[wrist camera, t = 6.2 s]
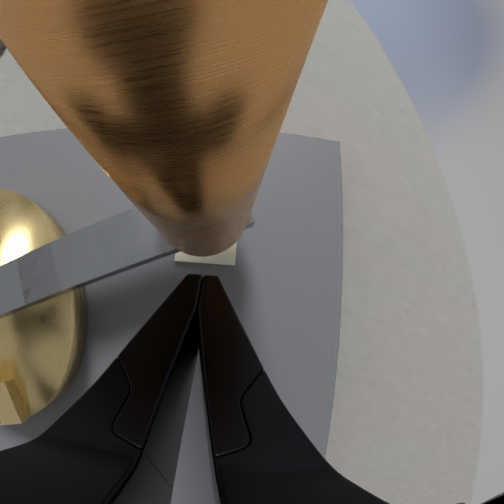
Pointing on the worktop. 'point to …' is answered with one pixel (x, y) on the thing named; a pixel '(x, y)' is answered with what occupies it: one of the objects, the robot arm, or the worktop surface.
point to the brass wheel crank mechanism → (138, 153)
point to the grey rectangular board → (222, 265)
